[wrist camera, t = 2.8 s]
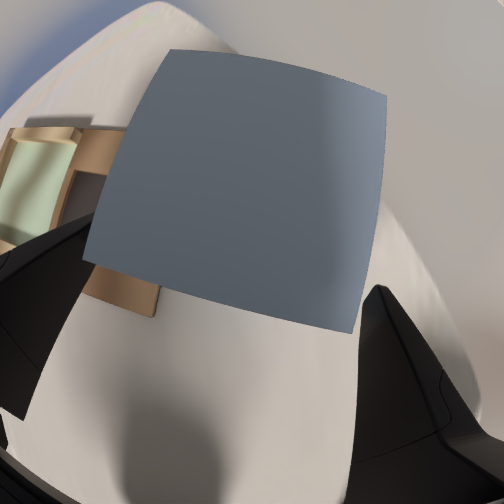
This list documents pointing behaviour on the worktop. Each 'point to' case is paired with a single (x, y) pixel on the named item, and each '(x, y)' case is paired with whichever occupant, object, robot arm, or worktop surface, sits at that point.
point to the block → (247, 187)
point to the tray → (63, 198)
